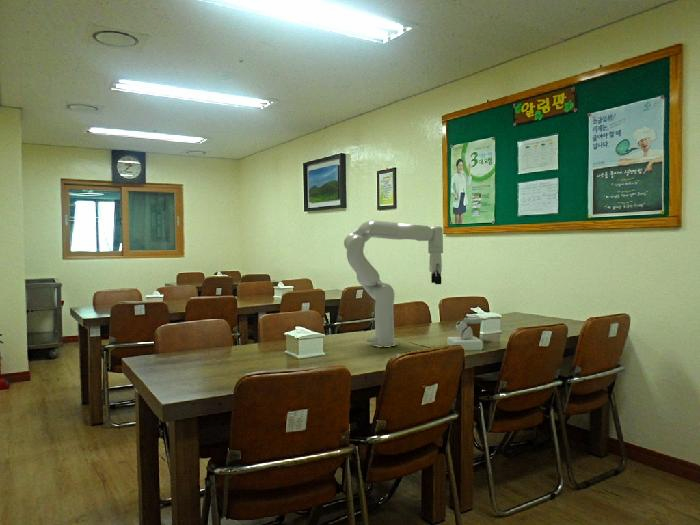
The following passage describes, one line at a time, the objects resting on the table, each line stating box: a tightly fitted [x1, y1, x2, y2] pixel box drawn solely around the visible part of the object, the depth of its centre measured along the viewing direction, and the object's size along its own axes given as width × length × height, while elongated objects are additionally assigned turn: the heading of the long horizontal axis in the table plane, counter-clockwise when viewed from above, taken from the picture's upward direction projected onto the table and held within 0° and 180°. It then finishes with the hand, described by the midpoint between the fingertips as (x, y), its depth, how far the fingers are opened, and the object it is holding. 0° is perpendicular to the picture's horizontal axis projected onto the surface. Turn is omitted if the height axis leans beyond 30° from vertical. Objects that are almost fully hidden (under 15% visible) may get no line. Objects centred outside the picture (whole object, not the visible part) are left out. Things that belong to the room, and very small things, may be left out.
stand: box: [446, 336, 484, 351], centre depth 260 cm, size 14×14×4 cm
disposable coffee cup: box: [462, 316, 482, 339], centre depth 275 cm, size 10×10×12 cm
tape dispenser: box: [455, 320, 473, 340], centre depth 260 cm, size 6×7×10 cm
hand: (436, 283), depth 276 cm, fingers open, 9 cm apart
